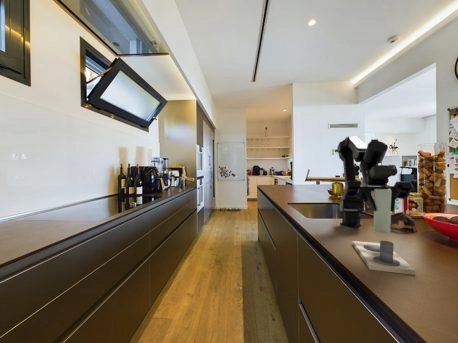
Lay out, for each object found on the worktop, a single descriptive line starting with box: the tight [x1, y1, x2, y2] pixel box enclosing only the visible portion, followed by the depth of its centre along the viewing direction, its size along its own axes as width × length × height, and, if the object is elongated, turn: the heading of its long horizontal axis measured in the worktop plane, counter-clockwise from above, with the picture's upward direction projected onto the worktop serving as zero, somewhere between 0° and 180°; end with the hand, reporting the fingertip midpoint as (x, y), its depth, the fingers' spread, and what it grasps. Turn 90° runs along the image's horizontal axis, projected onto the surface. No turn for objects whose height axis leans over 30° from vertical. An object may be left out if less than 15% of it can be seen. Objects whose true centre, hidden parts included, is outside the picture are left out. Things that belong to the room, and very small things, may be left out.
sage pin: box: [373, 189, 392, 234], centre depth 72 cm, size 4×4×13 cm
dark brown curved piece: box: [390, 211, 418, 233], centre depth 100 cm, size 12×10×8 cm
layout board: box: [351, 240, 416, 276], centre depth 68 cm, size 20×10×6 cm, turn 163°
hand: (384, 210), depth 70 cm, fingers closed on sage pin, 4 cm apart
